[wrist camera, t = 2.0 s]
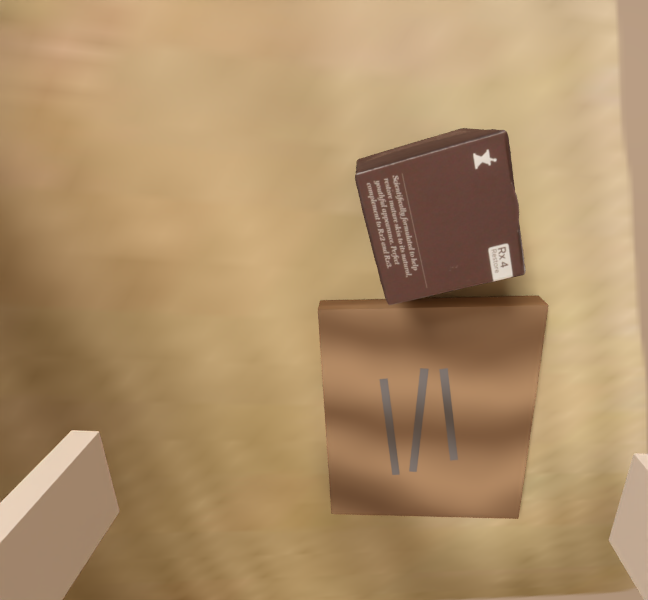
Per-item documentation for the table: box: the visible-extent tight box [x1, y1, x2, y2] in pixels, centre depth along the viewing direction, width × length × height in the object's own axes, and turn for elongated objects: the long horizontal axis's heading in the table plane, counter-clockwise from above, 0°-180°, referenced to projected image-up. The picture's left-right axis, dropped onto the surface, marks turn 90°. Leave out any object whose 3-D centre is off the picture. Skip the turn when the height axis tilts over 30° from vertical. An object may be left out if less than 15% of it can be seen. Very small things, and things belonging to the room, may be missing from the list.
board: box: [318, 296, 548, 519], centre depth 29 cm, size 16×13×2 cm
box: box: [355, 128, 525, 305], centre depth 21 cm, size 6×6×7 cm
